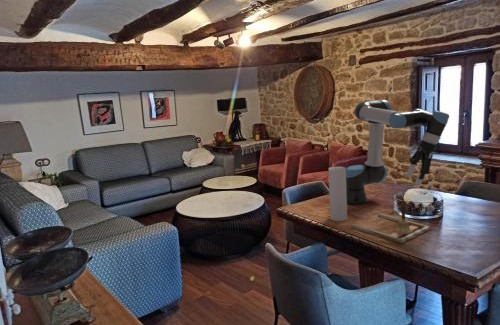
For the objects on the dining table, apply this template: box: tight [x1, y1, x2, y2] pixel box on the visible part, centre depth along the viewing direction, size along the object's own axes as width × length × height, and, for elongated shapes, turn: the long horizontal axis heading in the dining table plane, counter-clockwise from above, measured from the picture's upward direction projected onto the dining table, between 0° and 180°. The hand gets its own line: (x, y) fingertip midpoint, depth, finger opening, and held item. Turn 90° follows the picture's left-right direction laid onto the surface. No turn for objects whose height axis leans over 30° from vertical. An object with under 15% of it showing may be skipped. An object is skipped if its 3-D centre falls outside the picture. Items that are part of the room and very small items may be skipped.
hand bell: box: [394, 200, 414, 235], centre depth 183 cm, size 8×8×16 cm
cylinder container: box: [328, 166, 348, 222], centre depth 208 cm, size 9×9×30 cm
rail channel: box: [350, 212, 431, 244], centre depth 191 cm, size 24×30×2 cm
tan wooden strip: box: [390, 225, 419, 238], centre depth 184 cm, size 21×4×1 cm, turn 124°
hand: (412, 180), depth 190 cm, fingers open, 13 cm apart
